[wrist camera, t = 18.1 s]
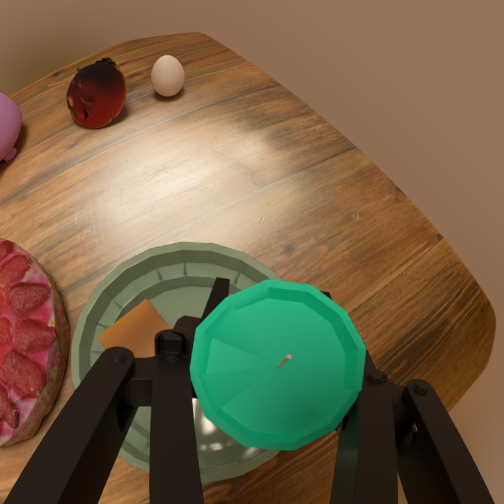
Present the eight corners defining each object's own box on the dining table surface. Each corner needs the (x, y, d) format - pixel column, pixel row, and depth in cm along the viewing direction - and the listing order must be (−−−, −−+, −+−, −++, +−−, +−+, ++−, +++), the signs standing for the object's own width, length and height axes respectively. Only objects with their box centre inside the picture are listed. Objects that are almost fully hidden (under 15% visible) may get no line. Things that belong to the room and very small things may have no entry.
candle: (293, 333, 21) (360, 251, 10) (307, 420, 18) (400, 431, 8) (203, 344, 20) (174, 268, 10) (213, 434, 18) (193, 472, 7)
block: (194, 358, 29) (187, 348, 24) (150, 393, 27) (135, 390, 22) (158, 315, 30) (146, 297, 26) (117, 348, 29) (96, 336, 24)
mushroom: (102, 126, 54) (61, 143, 41) (88, 70, 48) (43, 73, 35) (158, 107, 53) (126, 118, 40) (144, 47, 47) (107, 40, 34)
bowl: (331, 319, 33) (351, 300, 27) (246, 501, 23) (251, 521, 18) (159, 239, 35) (149, 208, 30) (64, 399, 26) (35, 395, 21)
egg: (150, 104, 46) (144, 65, 39) (157, 86, 49) (153, 50, 42) (182, 103, 47) (179, 63, 40) (187, 85, 49) (185, 48, 42)
